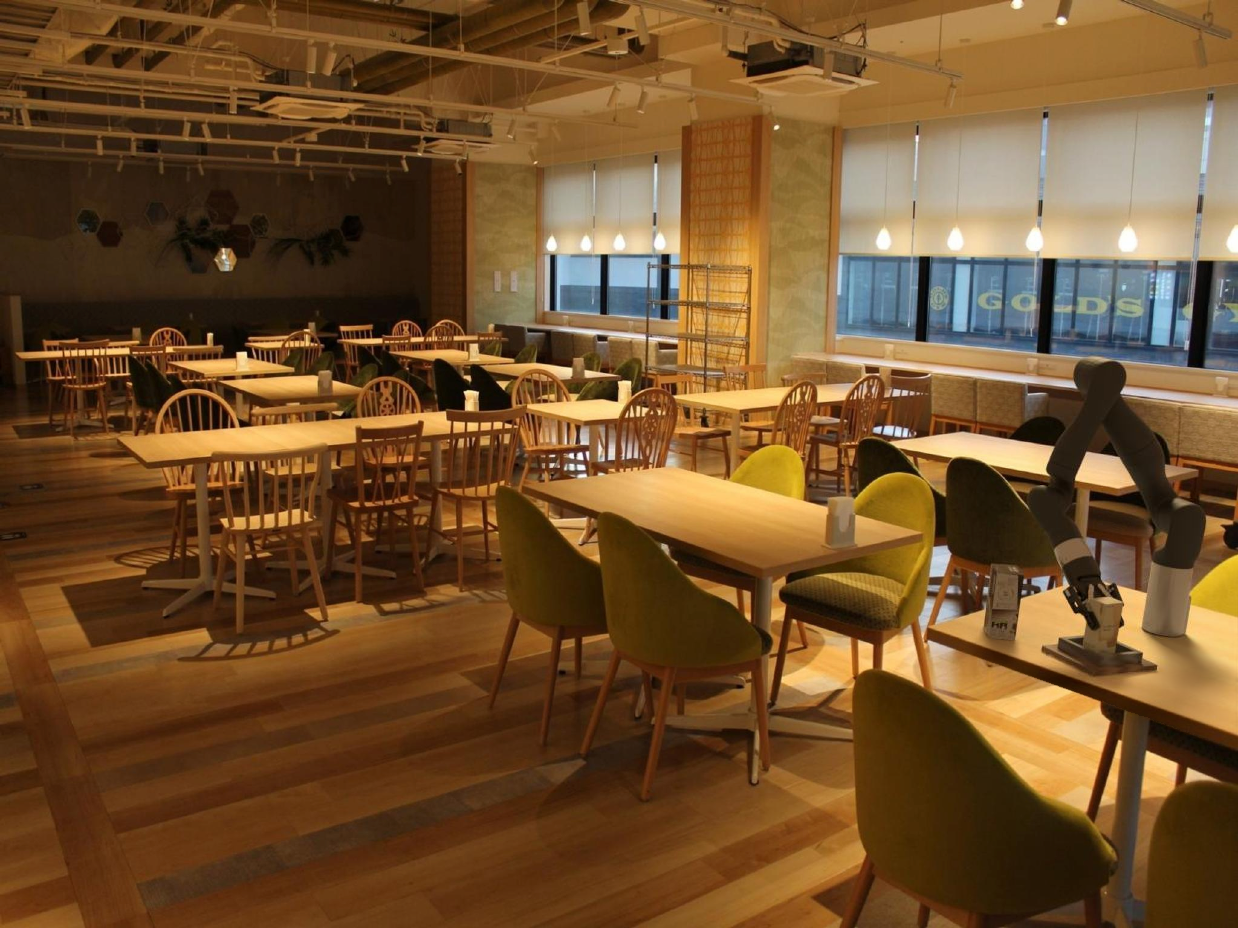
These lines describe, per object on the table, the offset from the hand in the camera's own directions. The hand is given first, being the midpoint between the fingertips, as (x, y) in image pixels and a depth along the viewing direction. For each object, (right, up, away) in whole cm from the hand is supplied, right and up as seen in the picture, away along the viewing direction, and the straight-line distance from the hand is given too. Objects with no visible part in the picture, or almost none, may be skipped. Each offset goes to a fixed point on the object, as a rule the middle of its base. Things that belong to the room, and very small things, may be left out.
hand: (1108, 627), depth 240 cm
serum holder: (-1, -8, +3) cm, 8 cm away
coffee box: (-18, -4, +17) cm, 26 cm away
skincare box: (-1, -6, +3) cm, 7 cm away
